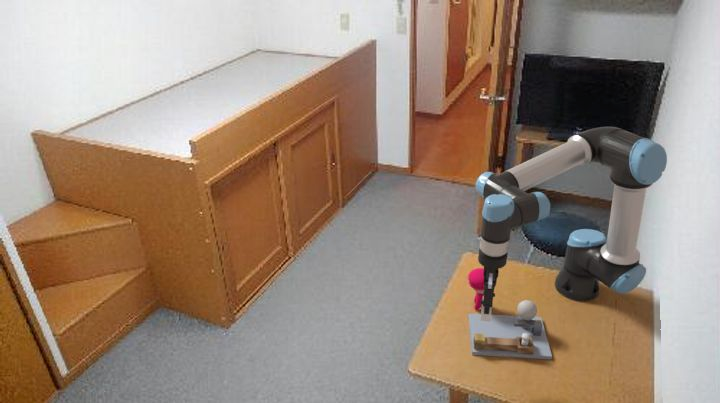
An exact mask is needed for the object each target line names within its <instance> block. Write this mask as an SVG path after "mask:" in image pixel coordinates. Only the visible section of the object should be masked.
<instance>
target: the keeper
mask: <svg viewBox="0 0 720 403" xmlns="http://www.w3.org/2000/svg"><path fill="white" fill-rule="evenodd" d="M542 322H543V321H542ZM542 322H541V320H523V319H513V323H514V326H515V327H532V334H533V336H541V332H542V326H544V324H543V325H542Z"/></svg>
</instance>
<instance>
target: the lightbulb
mask: <svg viewBox="0 0 720 403" xmlns="http://www.w3.org/2000/svg"><path fill="white" fill-rule="evenodd" d="M537 308H538V307H537V305H536V304H535V303H534V302H533V301H531V300H528V299H525V300H522V301H520V302H519V303H518V305H517V309H516V310H517V314H518V316H520V319H523V320H532V319H533V318H534V317H537V313H538V309H537ZM521 328H522V329H528V328H529V327H521Z"/></svg>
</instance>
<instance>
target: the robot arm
mask: <svg viewBox="0 0 720 403" xmlns="http://www.w3.org/2000/svg"><path fill="white" fill-rule="evenodd" d="M667 162H668V155H667V151H666V150H665V147H663V146H662V145H661V144H659V143H657V142H655V141H654V140H653V139H650V138H648V137H647V138H646V137H643V136H640V135H638V134H635V133H633V132H630V131H627V130H625V129H622V128H619V127H616V126H600V127H594V128H591V129H587V130H584V131H580V132H578V133H576V134H574V135H572V136H570V137H569V138H568V139H567V142H565V143H563V144H560V145H558V146H556V147H554V148H551V149H549V150H548V151H545V152H543V153H541V154H540V155H537V156H534V157H533V158H531V159H528V160H526V161H524V162H522V163H520V164H517V165H515V166H513V167H511V168H509V169H507V170H504V172H501V173H499V174H497V173H495V172H492V171H485V172H483V173H481V174H480V175H479V177H478V178H477V179H476V182H475V191H476V193H477V194H478V195H479V196H481V197H482V198H483V199H484V202H483V203H484V204H483V208H482V210H481V213H482V214H481V216H482V218H481V228H480V236H479V237H478V238H477V241H478V242H479V248H478V260H477V261H478V262H479V265H481V266H482V267H483V269H484V273H483V275H484V282H483V283H484V284H485V285H484V292H483V295H484V296H483V301H480V304H482V306H481V309H480V310H481V312H480V314H481V321H488V322H490V319H491V315H492V309H493V305H494V304H493V303H494V298H495V297H496V293H495V287H496V286H497V281H498V278H499V273H500V272H499V269H502V268H504V267H505V266H506V265H507V260H508V253H509V249H510V248H509V247H510V240H511V232H512V230H513V229H517V228H519V227H523V226H526V225H529V224H533V223H536V222H538V221H541V220H543V219H545V218H547V217H548V216H549V214H550V211H551V203H550V200H549V198H548V197H547V195H546V194H545V193H543V192H541V191H533V192H529V193H527V192H526V191H528V190H529V189H531V188H534V187H535V186H537V185H540V184H542V183H544V182H546V181H548V180H549V179H552V178H554V177H556V176H558V175H560V174H562V173H564V172H567V171H568V170H571V169H572V168H574V167H577V166H587V165H589V164H591V163H593V164H594V163H596V164H599V165H602V166H604V167H606V168H608V169H610V173H609V180H610V182H611V184H612V185H614V186H613V191H612V192H613V194H612V199H611V200H612V201H611V209H610V215H609V223H608V224H609V225H608V230H607V237H606V234H604V233H603V232H601V231H599V230H596V229H591V228H582V229H581V228H580V229H576V230H573V231H572V232H571V233H570V234H569V236H568V240H567V241H566V249H565V256H564V262H563V266H562V268H561V269H560V271H559V272H558V274H557V275H556V277H555V281H554V287H555V289H556V291H557V292H558V293H559V294H561V295H562V296H564V297H565V298H567V299H569V300H570V299H571V300H573V301H578V302H589V301H592V300H595V299H597V297H599V295H600V290H601V285H600V283H602V284H603V285H605V286H606V287H607V288H609V289H610V290H612V291H614V292H616V293H618V294H621V295H625V294H628V293H631V292H632V291H633V290H635V289H636V288H638V286H639V285H640V284H641V283H642V281H643V280H644V278H645V276H646V274H647V268H646V266H644V265H643V264H641V263H640V261H641V260H640V259H641V253H640V251H639V249H638V248H637V244H638V239H639V233H640V227H641V222H642V215H643V209H644V203H645V199H646V193H647V192H646V191H647V189H648V188H650V187H652V186H653V184H654V183H656V182H657V181H659V179H660V178H662V176H663V172H665V170H666V167H667Z"/></svg>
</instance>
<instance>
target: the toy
mask: <svg viewBox="0 0 720 403" xmlns="http://www.w3.org/2000/svg"><path fill="white" fill-rule="evenodd" d="M483 273H484V267H480V268H479V267H478V268H475V269H474V268H473V269H472V270H471V271H470V272H469V273H468V276H467V279H468V284H469V287H471V288H472V289H473V290H474V291H475V292H476V293H475V296H474V299H473V302H474V307H473V308H474V310H475V312H476V311H479V310H481V308H482V304H480V301H483V296H484V295H483V292H484V285H485V284H484V283H483V282H484V275H483Z"/></svg>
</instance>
